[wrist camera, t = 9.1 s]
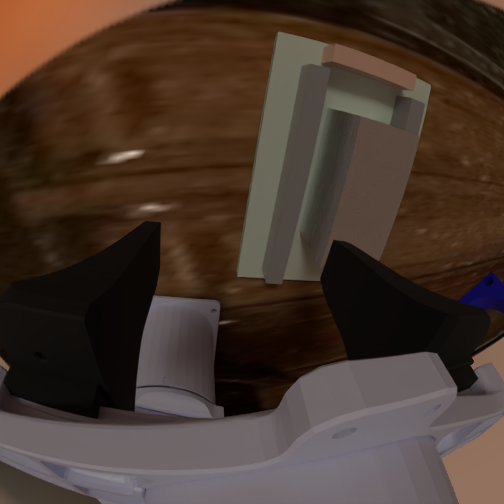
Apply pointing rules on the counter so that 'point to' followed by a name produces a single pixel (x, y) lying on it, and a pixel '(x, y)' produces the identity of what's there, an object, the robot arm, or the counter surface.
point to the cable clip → (486, 294)
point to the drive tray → (311, 142)
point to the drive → (356, 184)
